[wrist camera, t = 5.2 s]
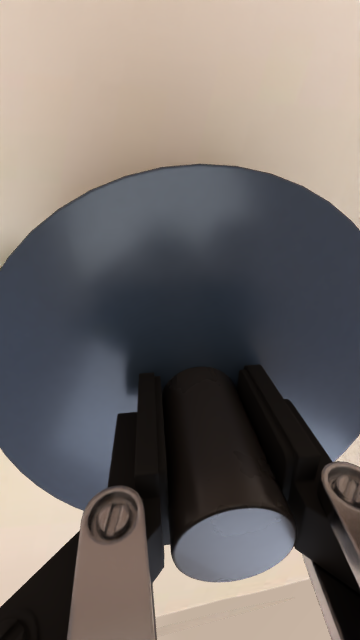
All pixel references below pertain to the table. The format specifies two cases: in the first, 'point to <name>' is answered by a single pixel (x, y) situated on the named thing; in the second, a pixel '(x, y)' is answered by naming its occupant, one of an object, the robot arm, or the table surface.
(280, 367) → the lid
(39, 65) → the table surface
